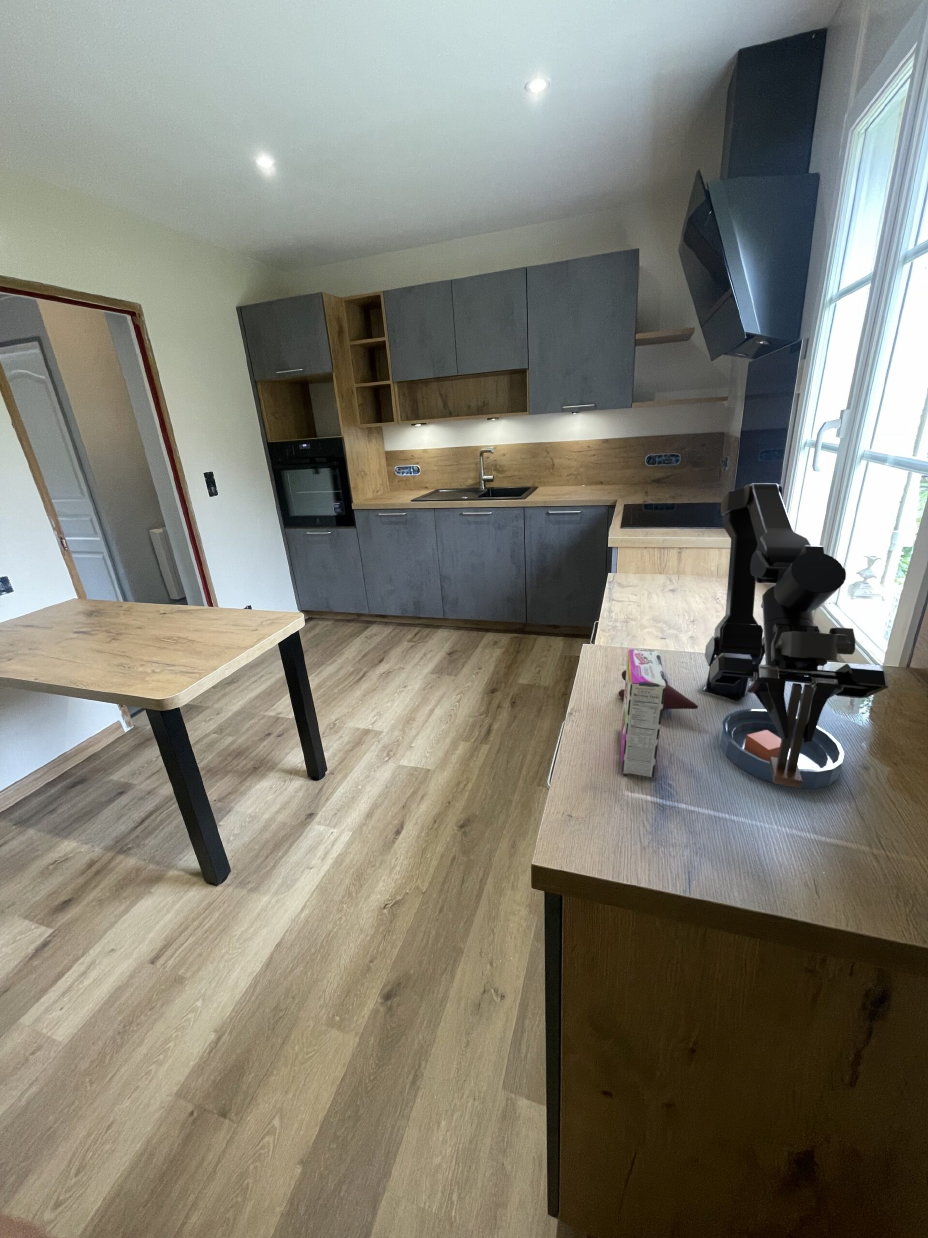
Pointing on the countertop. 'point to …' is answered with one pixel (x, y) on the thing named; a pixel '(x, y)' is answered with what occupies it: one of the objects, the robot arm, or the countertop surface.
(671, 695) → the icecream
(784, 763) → the dark brown forked stand
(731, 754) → the bowl
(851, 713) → the countertop surface
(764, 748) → the block
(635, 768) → the candy bar box
